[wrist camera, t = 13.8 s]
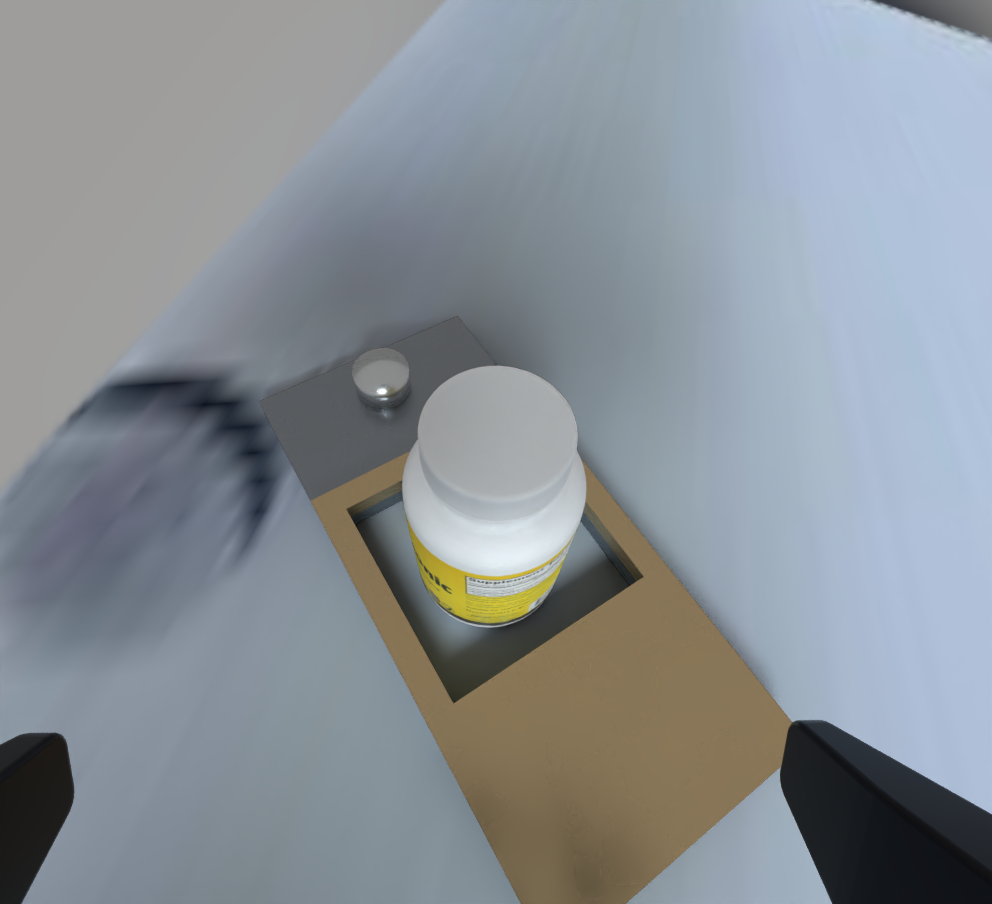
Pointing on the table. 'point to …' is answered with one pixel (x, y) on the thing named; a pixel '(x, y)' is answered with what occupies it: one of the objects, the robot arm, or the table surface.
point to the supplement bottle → (493, 493)
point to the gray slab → (546, 660)
